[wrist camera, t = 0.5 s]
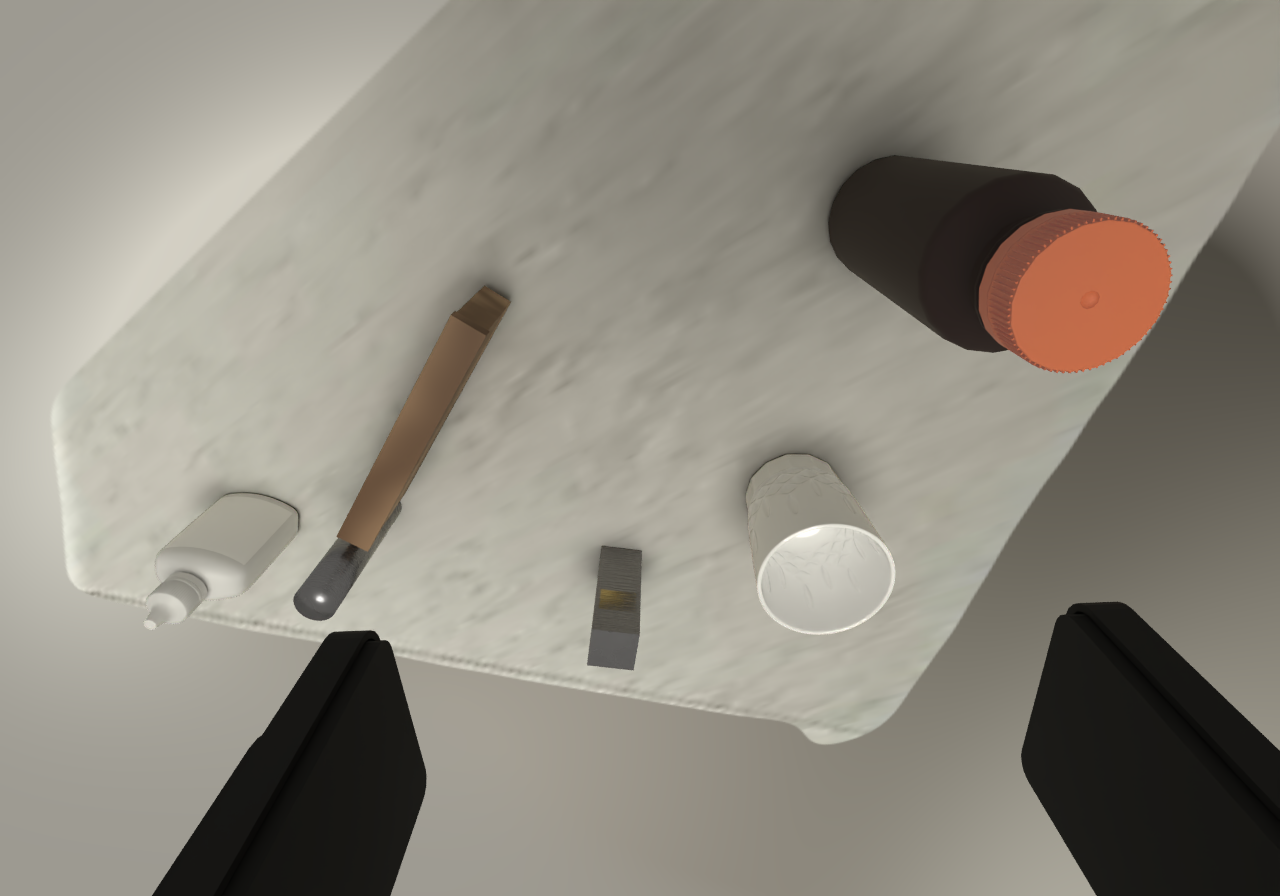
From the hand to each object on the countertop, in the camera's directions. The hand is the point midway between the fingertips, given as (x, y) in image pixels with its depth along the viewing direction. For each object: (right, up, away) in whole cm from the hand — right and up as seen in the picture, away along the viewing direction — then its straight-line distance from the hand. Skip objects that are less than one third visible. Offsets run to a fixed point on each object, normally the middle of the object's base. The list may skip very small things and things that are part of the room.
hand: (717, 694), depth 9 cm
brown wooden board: (-14, +7, +33) cm, 37 cm away
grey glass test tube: (-20, -1, +38) cm, 43 cm away
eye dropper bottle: (-29, -1, +39) cm, 48 cm away
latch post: (-3, -5, +40) cm, 41 cm away
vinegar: (+13, +17, +29) cm, 36 cm away
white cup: (+10, 0, +37) cm, 39 cm away
